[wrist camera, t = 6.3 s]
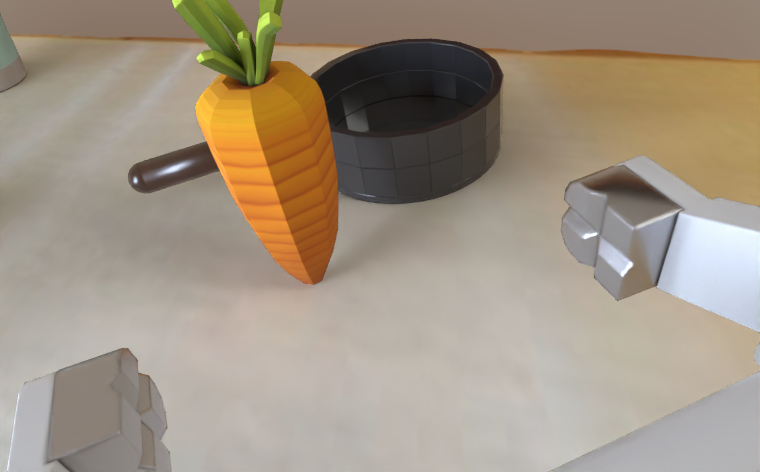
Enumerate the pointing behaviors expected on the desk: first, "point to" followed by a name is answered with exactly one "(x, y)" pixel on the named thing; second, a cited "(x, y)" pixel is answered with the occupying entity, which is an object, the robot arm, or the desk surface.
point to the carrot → (268, 136)
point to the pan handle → (172, 168)
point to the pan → (412, 118)
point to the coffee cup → (9, 60)
